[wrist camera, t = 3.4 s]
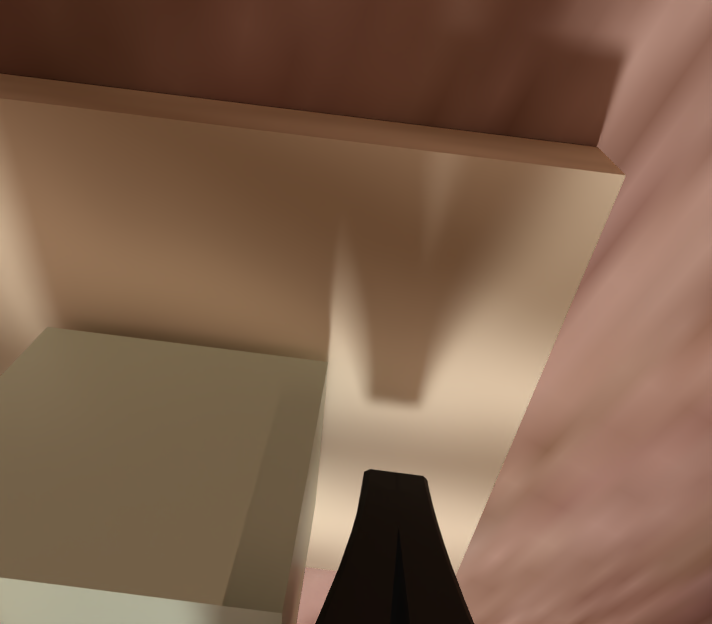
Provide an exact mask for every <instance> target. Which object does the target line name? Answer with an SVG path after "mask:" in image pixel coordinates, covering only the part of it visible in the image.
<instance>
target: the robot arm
mask: <svg viewBox="0 0 712 624" xmlns="http://www.w3.org/2000/svg"><path fill="white" fill-rule="evenodd" d="M315 624H474V622H473V620H472V617H471V615H470V612H469V610H468V607H467V605H466V602H465V600H464V597H463V595H462V592H461V589H460V587H459V584H458V581H457V578H456V576H455V573H454V570H453V567H452V565H451V562H450V559H449V556H448V553H447V550H446V547H445V544H444V541H443V538H442V535H441V531H440V528H439V525H438V521H437V518H436V514H435V511H434V507H433V503H432V499H431V495H430V490H429V486H428V480H427V479H426V478H425V477H424V476H421V475H413V474H405V473H397V472H390V471H382V470H374V469H369V470H367V471H364V475H363V480H362V486H361V491H360V497H359V503H358V508H357V514H356V517H355V521H354V524H353V528H352V531H351V534H350V537H349V540H348V543H347V545H346V548H345V551H344V554H343V557H342V560H341V563H340V565H339V568H338V571H337V573H336V576H335V578H334V581H333V583H332V586H331V588H330V590H329V593H328V595H327V597H326V600H325V602H324V605H323V607H322V609H321V612H320V614H319V616H318V619H317V621H316V623H315Z"/></svg>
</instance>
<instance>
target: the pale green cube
mask: <svg viewBox="0 0 712 624" xmlns="http://www.w3.org/2000/svg"><path fill="white" fill-rule="evenodd" d="M327 369H328V362H324V361H316V360H308V359H300V358H292V357H284V356H276V355H268V354H260V353H252V352H244V351H236V350H228V349H221V348H213V347H205V346H197V345H189V344H181V343H173V342H165V341H157V340H149V339H141V338H133V337H125V336H117V335H109V334H101V333H93V332H85V331H77V330H69V329H61V328H53V327H47V328H46V329H45V330H44V331H43V332H42V333H41V334H40V335H39V336H38V337H37V338H36V339H35V340H34V341H33V342H32V343H31V344H30V346H29V347H28V348H27V349H26V350H25V351H24V352H23V353H22V354H21V355H20V356H19V357H18V358H17V359H16V360H15V361H14V362H13V363H12V365H11V366H10V367H9V368H8V369H7V370H6V371H5V372H4V373H3V374H2V375H1V376H0V624H296V623H297V617H298V610H299V604H300V598H301V591H302V585H303V579H304V573H305V566H306V560H307V554H308V547H309V541H310V535H311V529H312V522H313V516H314V510H315V503H316V494H317V483H318V471H319V460H320V449H321V437H322V426H323V415H324V403H325V392H326V380H327Z"/></svg>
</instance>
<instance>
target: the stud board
mask: <svg viewBox="0 0 712 624" xmlns="http://www.w3.org/2000/svg"><path fill="white" fill-rule="evenodd" d="M625 176H626V175H625V174H624V173H623V172H622V171H621V170H620V169H619V168H618V167H617V166H616V165H615V164H614V163H613V162H612V161H611V160H610V159H609V158H608V157H607V156H606V155H605V154H604V153H603V152H602V151H601V150H600V149H599V148H598V147H592V146H584V145H576V144H568V143H560V142H552V141H544V140H536V139H527V138H519V137H511V136H503V135H495V134H487V133H479V132H471V131H462V130H454V129H446V128H438V127H430V126H422V125H414V124H406V123H398V122H389V121H381V120H373V119H365V118H357V117H349V116H341V115H333V114H324V113H316V112H308V111H300V110H292V109H284V108H276V107H268V106H260V105H251V104H243V103H235V102H227V101H219V100H211V99H203V98H195V97H186V96H178V95H170V94H162V93H154V92H146V91H138V90H130V89H121V88H113V87H105V86H97V85H89V84H81V83H73V82H65V81H57V80H48V79H40V78H32V77H24V76H16V75H8V74H0V376H1V375H2V374H3V373H4V372H5V371H6V370H7V369H8V368H9V367H10V366H11V365H12V363H13V362H14V361H15V360H16V359H17V358H18V357H19V356H20V355H21V354H22V353H23V352H24V351H25V350H26V349H27V348H28V347H29V346H30V344H31V343H32V342H33V341H34V340H35V339H36V338H37V337H38V336H39V335H40V334H41V333H42V332H43V331H44V330H45V329H46V328H47V327H53V328H61V329H69V330H77V331H85V332H93V333H101V334H109V335H117V336H125V337H133V338H141V339H149V340H157V341H165V342H173V343H181V344H189V345H197V346H205V347H213V348H221V349H228V350H236V351H244V352H252V353H260V354H268V355H276V356H284V357H292V358H300V359H308V360H316V361H324V362H328V369H327V380H326V392H325V403H324V415H323V426H322V437H321V449H320V460H319V471H318V483H317V494H316V503H315V510H314V516H313V522H312V529H311V535H310V541H309V547H308V554H307V560H306V566H305V567H309V568H317V569H324V570H332V571H338V568H339V565H340V563H341V560H342V557H343V554H344V551H345V548H346V545H347V543H348V540H349V537H350V534H351V531H352V528H353V524H354V521H355V517H356V514H357V508H358V503H359V497H360V491H361V486H362V480H363V475H364V471H367V470H369V469H374V470H382V471H390V472H397V473H405V474H413V475H421V476H424V477H425V478H426V479H427V480H428V486H429V490H430V495H431V499H432V503H433V507H434V511H435V514H436V518H437V521H438V525H439V528H440V531H441V535H442V538H443V541H444V544H445V547H446V550H447V553H448V556H449V559H450V562H451V565H452V567H453V570H454V573H455V576H456V573H457V571H458V569H459V566H460V564H461V562H462V559H463V557H464V555H465V552H466V550H467V548H468V545H469V543H470V541H471V538H472V536H473V534H474V531H475V529H476V526H477V524H478V522H479V519H480V517H481V515H482V512H483V510H484V508H485V505H486V503H487V501H488V498H489V496H490V494H491V491H492V489H493V487H494V484H495V482H496V479H497V477H498V475H499V472H500V470H501V468H502V465H503V463H504V461H505V458H506V456H507V454H508V451H509V449H510V447H511V444H512V442H513V439H514V437H515V435H516V432H517V430H518V428H519V425H520V423H521V421H522V418H523V416H524V414H525V411H526V409H527V407H528V404H529V402H530V400H531V397H532V395H533V392H534V390H535V388H536V385H537V383H538V381H539V378H540V376H541V374H542V371H543V369H544V367H545V364H546V362H547V360H548V357H549V355H550V352H551V350H552V348H553V345H554V343H555V341H556V338H557V336H558V334H559V331H560V329H561V327H562V324H563V322H564V320H565V317H566V315H567V313H568V310H569V308H570V305H571V303H572V301H573V298H574V296H575V294H576V291H577V289H578V287H579V284H580V282H581V280H582V277H583V275H584V273H585V270H586V268H587V265H588V263H589V261H590V258H591V256H592V254H593V251H594V249H595V247H596V244H597V242H598V240H599V237H600V235H601V233H602V230H603V228H604V226H605V223H606V221H607V218H608V216H609V214H610V211H611V209H612V207H613V204H614V202H615V200H616V197H617V195H618V193H619V190H620V188H621V186H622V183H623V181H624V178H625Z"/></svg>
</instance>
